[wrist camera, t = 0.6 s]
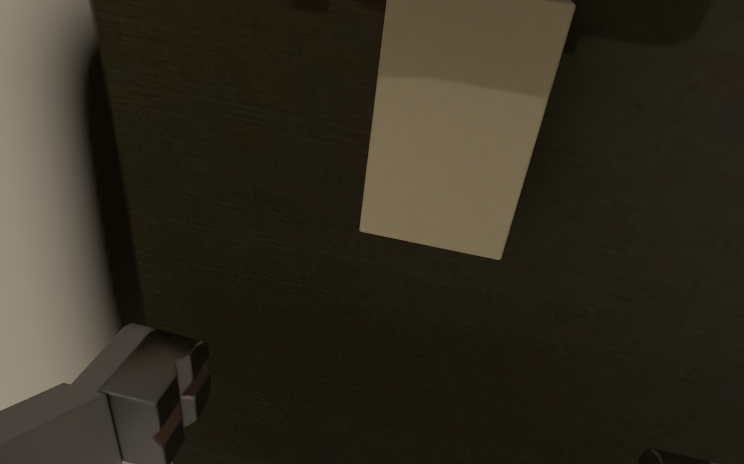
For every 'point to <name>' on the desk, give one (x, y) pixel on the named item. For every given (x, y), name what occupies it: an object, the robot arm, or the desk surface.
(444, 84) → the top pad
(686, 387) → the desk surface
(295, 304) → the desk surface
